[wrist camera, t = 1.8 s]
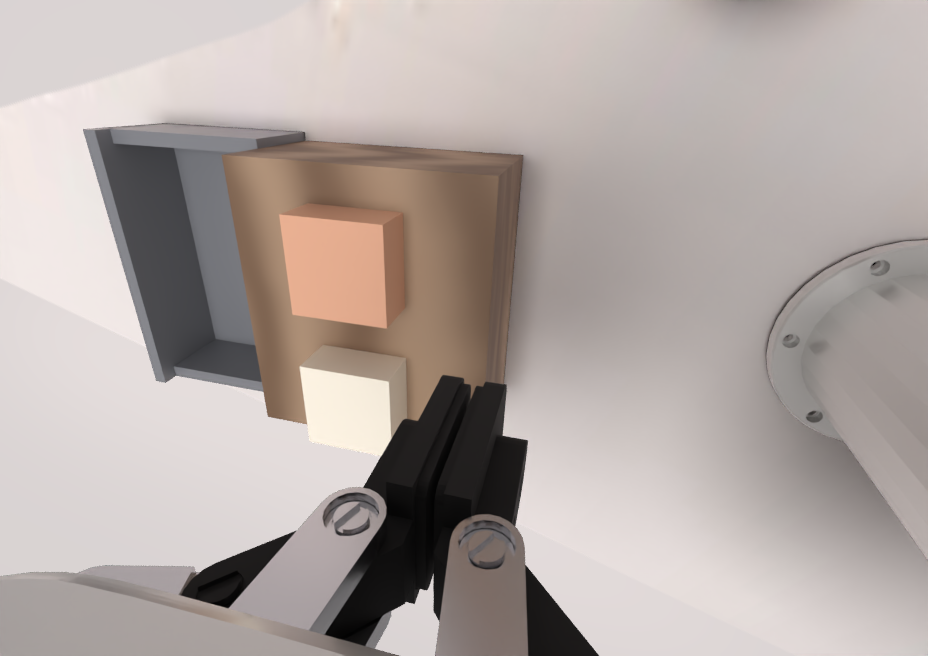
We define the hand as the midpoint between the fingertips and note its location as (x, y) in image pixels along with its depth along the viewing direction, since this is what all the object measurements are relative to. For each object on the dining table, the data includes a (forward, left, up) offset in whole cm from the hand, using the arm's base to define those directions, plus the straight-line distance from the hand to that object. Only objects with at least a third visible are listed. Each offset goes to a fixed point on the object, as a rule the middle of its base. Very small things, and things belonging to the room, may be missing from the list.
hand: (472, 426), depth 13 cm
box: (+21, +4, -20) cm, 29 cm away
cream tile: (+9, +8, -12) cm, 17 cm away
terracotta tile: (+9, 0, -12) cm, 15 cm away
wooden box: (+9, +4, -20) cm, 22 cm away
